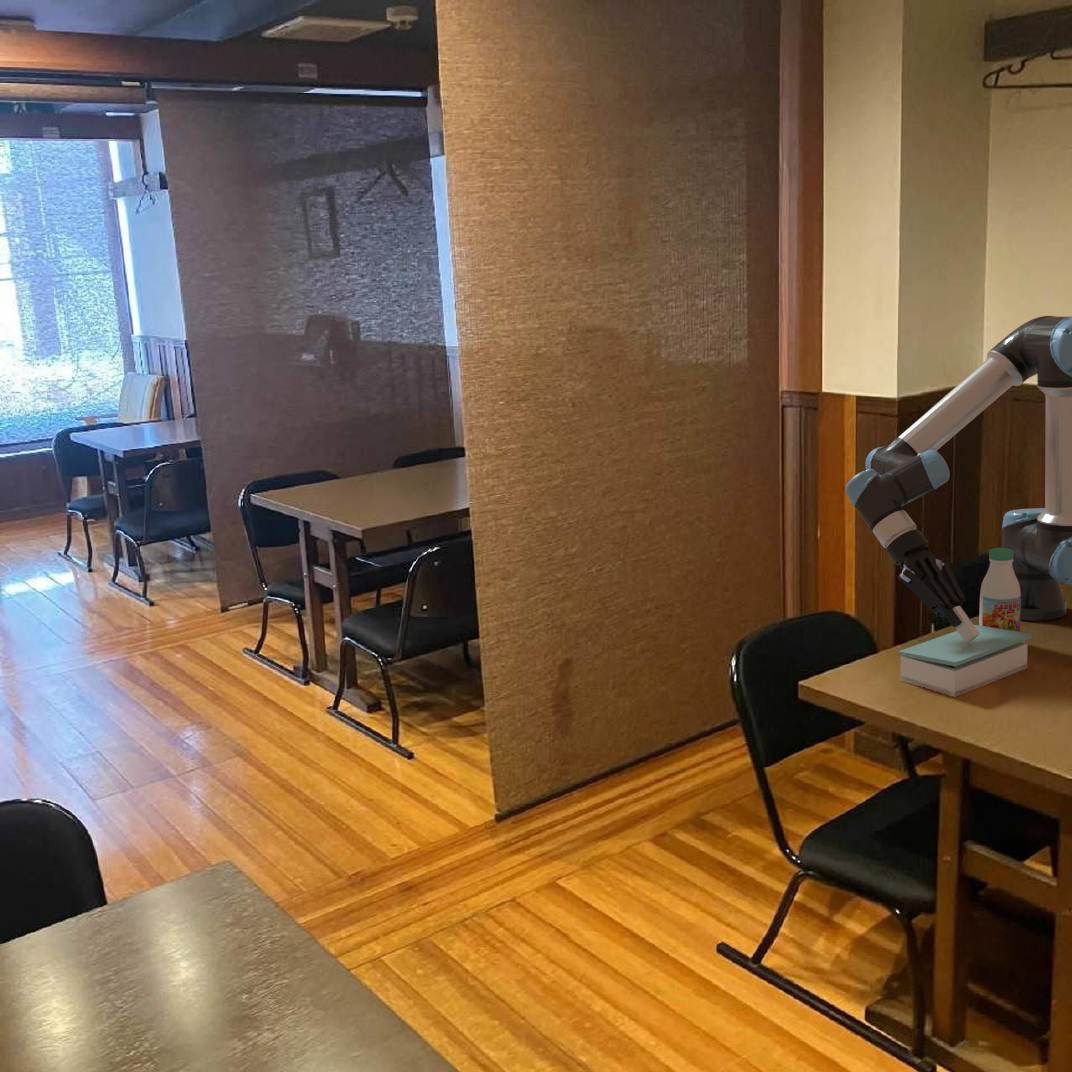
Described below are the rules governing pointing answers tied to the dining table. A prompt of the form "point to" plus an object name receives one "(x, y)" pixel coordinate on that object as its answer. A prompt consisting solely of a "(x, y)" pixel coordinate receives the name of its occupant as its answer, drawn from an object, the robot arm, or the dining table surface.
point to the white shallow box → (964, 671)
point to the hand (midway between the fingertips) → (972, 638)
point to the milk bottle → (1000, 593)
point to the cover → (964, 646)
